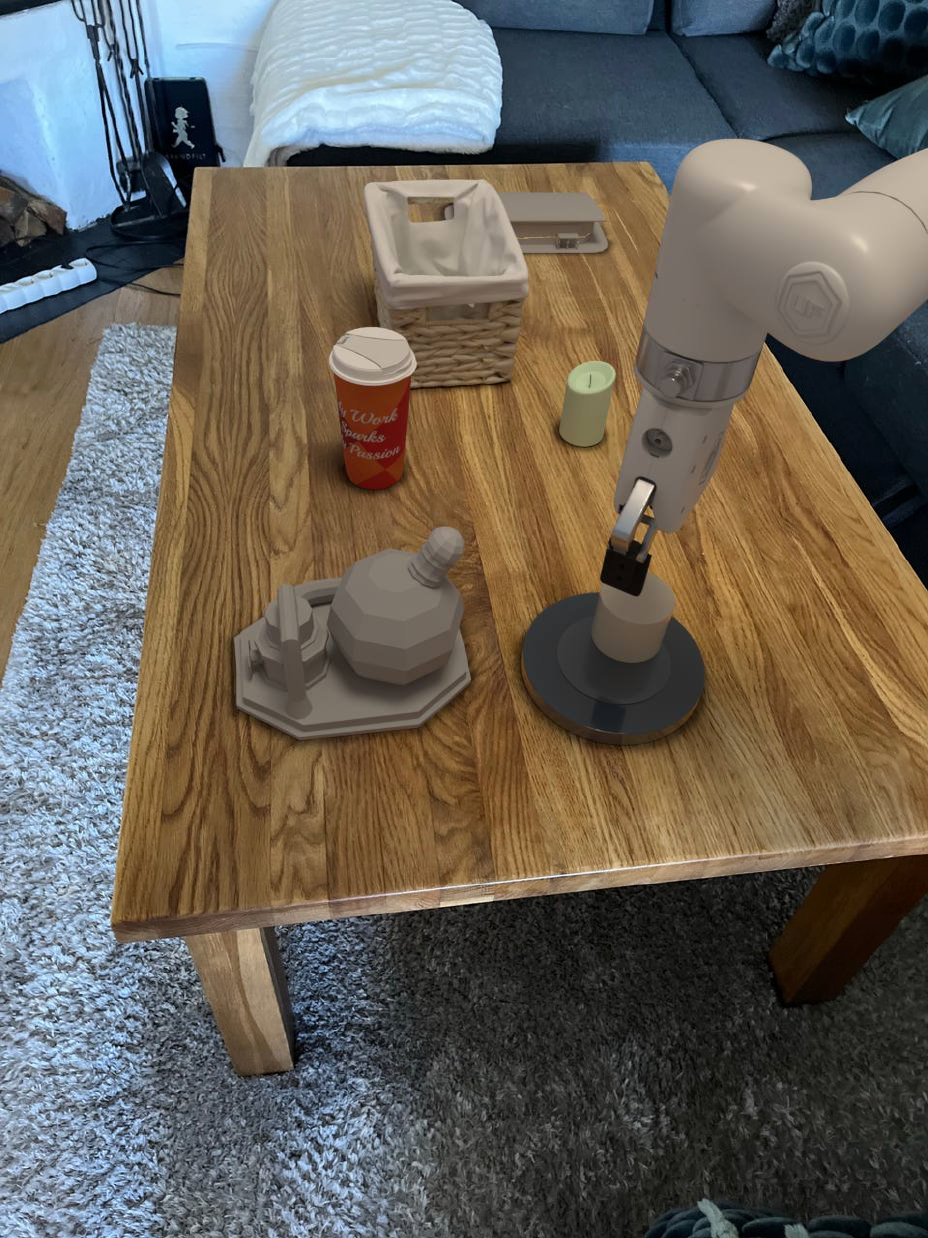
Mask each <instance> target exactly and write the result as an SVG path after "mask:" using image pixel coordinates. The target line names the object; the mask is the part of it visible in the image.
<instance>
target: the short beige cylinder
mask: <svg viewBox="0 0 928 1238" xmlns="http://www.w3.org/2000/svg"><path fill="white" fill-rule="evenodd" d="M599 592H600V593H599V597H598V602H597V606H596V610H595V614H594V618H593V623H592V627H591V635H592V639H593V641H594V643H595V645H596V646H597V648H598V649H599V650H600V651H601V652H603V653H604V654H605V655H607V656H608V657H610V658H612V659H614V660H617V661H621V662H626V663H639V662H643V661H646V660H649V659H651V658H652V657H654V656H655V655H656V654H657V653H658V652H659V650H660V649H661V646H662V643H663V640H664V637H665V634H666V631H667V628H668V625H669V622H670V619H671V616H673V613H674V610H675V606H676V598H675V593H674V591H673V589H672V588H671V587H670V586H669V584H668V583H667V582H666V581H665V580H664V579H662V578H661V577H659V576H658V575H656V574H654V573H652V572H649V571H648V572H647V576H646V579H645V583H644V586H643V590H642V592H641V593H640V595H639V596H637V597H635V596H632V595H630V594H628V593H625V592H623V591H621V590H618V589H616V588H613V587H611V586H609V585H606V584H604V583H601V587H600V589H599Z"/></svg>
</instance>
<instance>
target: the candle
mask: <svg viewBox="0 0 928 1238" xmlns="http://www.w3.org/2000/svg"><path fill="white" fill-rule="evenodd" d="M616 376H617V373H616V370H615V367H613V366H612V364H610V363H608V362H605V361H601V360H591V361H586V362H583V363H581V364H579V365H577V366H575V367H574V368H573V369H572V370H571V371H570V372H569V374H568V376H567V380H566V386H565V393H564V398H563V404H562V410H561V416H560V422H559V429H558V433H559V435H560V437H561V438H562V439H563V440H564V441H565V442H566V443H569V444H571V445H573V446H576V447H586V448H587V447H593V446H595V445H598V444H599V443H600V442H601V441H602V439H603V438H604V434H605V429H606V423H607V419H608V415H609V410H610V404H611V400H612V396H613V390H614V385H615V381H616Z"/></svg>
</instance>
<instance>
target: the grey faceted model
mask: <svg viewBox="0 0 928 1238" xmlns="http://www.w3.org/2000/svg"><path fill="white" fill-rule="evenodd" d="M465 547H466V541H465V539H464V537H463V536H462V533H461V532H460V531H459V530H457V529H456V528H454V527H452V526H438V527H436V528H434V529H433V530H432V531H430V532H429V536H428V538H427V541H426V542H424V543H423V544H422V546H421V548H420V549H419V550H418V552H412V551H407V550H401V549H396V548H390V547H388V548H386V549H383V550H381V551H379V552H376V553H373V554H371V555H369V556H366V557H364V558H361V559H359V560H357V561H355V562H354V563H352V564H351V566H349V567H348V568H347V569H345V570H344V573H343V575H342V577H332V578H331V577H330V578H323V579H317V580H310V581H307V582H306V581H305V582H304V583H300V584H297V585H295V586H293V585H292V584H289V583H283V584H281V585H279V586H278V587H277V589H276V598H274V599H273V600H272V601H270V602H268V604H267V606H266V609H265V611H264V615H263V616H262V617H261V618H259V619H258V620H256V621H255V622H253V623H252V624H251V625H248V626H247V627H246V628H244V629H243V630H241V631H240V633H239V634H237V635H236V636H234V637H233V642H234V655H235V667H236V668H235V669H236V670H235V671H236V672H235V673H236V680H235V681H236V683H235V687H236V688H235V690H236V691H235V692H236V693H235V694H236V696H235V697H236V699H235V700H236V701H235V702H236V709H237V710H239V711H241V712H243V713H245V714H247V715H249V716H250V717H251V716H252V717H253V718H255V719H256V720H259V721H261V722H263V723H265V724H267V725H269V726H271V727H273V728H275V729H276V730H277V731H281V732H283V733H284V734H286V735H288V736H290V737H292V738H293V739H296V740H297V741H308V740H317V739H327V738H336V737H345V736H355V735H356V736H357V735H363V734H374V733H382V732H383V733H384V732H391V731H398V730H399V731H400V730H410V729H419V728H421V727H422V726H423V725H424V724H425V723H427V722H428V721H429V720H430V719H432V718H433V717H434V716H435V715H437V713H439V712H440V711H441V710H442V709H444V708H445V707H446V706H447V705H448V704H449V703H451V701H453V700H454V699H455V698H456V697H457V696H458V695H459V694H461V693H462V692H463V691H464V690H465V689H466V688H467V687H468V686H470V684H471V683H472V677H471V672H470V668H469V662H468V657H467V652H466V647H465V642H464V639H463V636H462V633H461V629H460V626H461V622H462V619H463V615H464V612H465V608H464V603H463V599H462V594H461V592H460V591H459V589H458V588H457V586H455V584H453V582H451V581H452V580H450V578H449V577H448V576H446V575H447V574H448V573H449V571H451V569H453V567H454V565H455V564H457V563H458V562H460V560H461V558H462V556H463V554H464V550H465Z"/></svg>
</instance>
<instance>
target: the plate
mask: <svg viewBox="0 0 928 1238" xmlns="http://www.w3.org/2000/svg"><path fill="white" fill-rule="evenodd" d="M599 593H600V591H593V592H592V591H591V592H585V593H578V594H574V595H570V596H567V597H564V598H562V599H559V600H558V601H556V602H554V603H552V604H550V605H548V607H546V608H544V609H543V610H542V611H541V612H540V613H538V615H537V616H536V617H535V618H534V620H533V621H532V622H531V624H529V625H530V626H529V627H528V628H527V630H526V633H525V635H524V639H523V642H522V643H523V644H522V650H521V657H520V671H521V677H522V680H523V683H524V686H525V689H526V690H527V692H528V695H529V696H530V698H531V699H532V701H533V702H534V704H535V705H536V706H537V707H538V708H539V710H540V711H541V712H542V713H543V714H544V715H545V716H546V717H547V718H548V719H549V720H551V721H552V722H553V723H555V724H556V725H558V726H559V727H561V728H562V729H564V730H566V731H567V732H569V733H572V734H573V735H576V736H578V737H580V738H583V739H586V740H590V741H591V742H592V741H593V742H595V743H596V742H597V743H602V744H606V745H614V746H615V745H616V746H634V745H641V744H646V743H650V742H653V741H657V740H660V739H662V738H665V737H666V736H669V735H670V734H672V733H673V732H675V731H677V730H678V729H680V728H681V727H682V726H683V725H684V724H685V723H686V722H687V721H688V720H689V718H690V717H691V716H692V715H693V713H694V711H695V709H696V708H697V705H698V703H699V701H700V698H701V695H702V693H703V690H704V688H705V687H704V686H705V680H706V668H705V662H704V658H703V655H702V652H701V650H700V648H699V646H698V643H697V641H695V639H694V637H693V635H692V634H691V633H690V632H689V631H688V630H687V628H686V627H685V625H683V624H682V623H681V622H680V621H679V620H678V619H677V618H675V616H673V615H672V616H671V619H670V622H669V625H668V628H667V631H666V634H665V637H664V640H663V643H662V646H661V649H660V650H659V652H658V653H657V654H656V655H655V656H654V657H652V658H651V659H649V660H646V661H643V662H639V663H626V662H621V661H617V660H614V659H612V658H610V657H608V656H607V655H605V654H604V653H603V652H601V651H600V650H599V649H598V648H597V646H596V645H595V643H594V641H593V639H592V635H591V627H592V623H593V618H594V614H595V610H596V606H597V602H598V597H599Z"/></svg>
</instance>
